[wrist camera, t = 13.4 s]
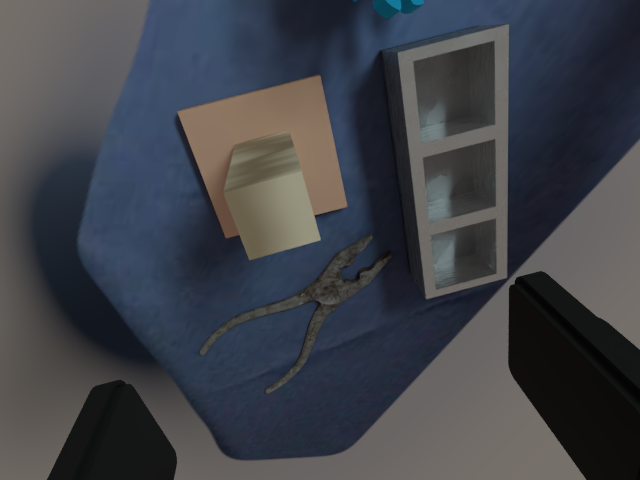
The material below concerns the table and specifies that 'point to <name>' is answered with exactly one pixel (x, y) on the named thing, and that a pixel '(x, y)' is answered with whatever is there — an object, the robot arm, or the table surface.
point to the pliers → (324, 289)
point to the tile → (261, 120)
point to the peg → (269, 196)
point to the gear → (395, 6)
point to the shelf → (452, 154)
